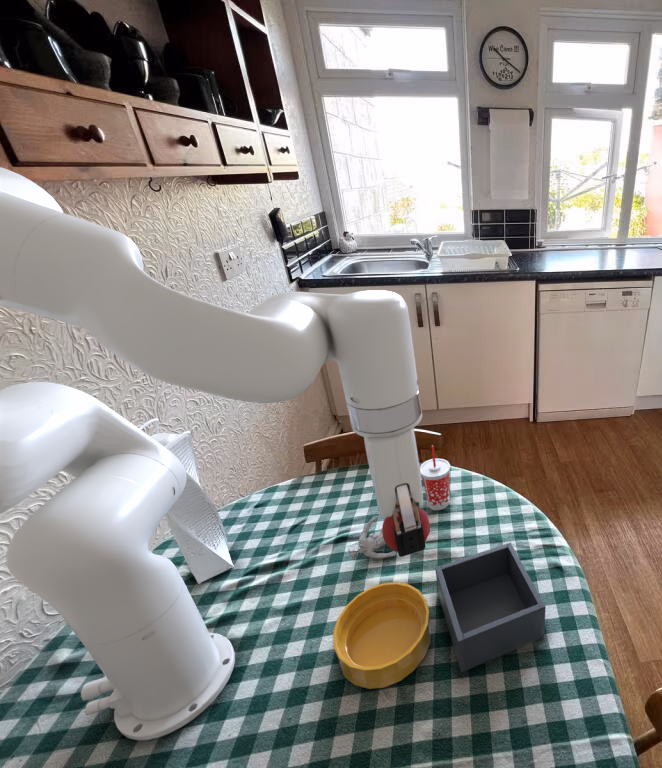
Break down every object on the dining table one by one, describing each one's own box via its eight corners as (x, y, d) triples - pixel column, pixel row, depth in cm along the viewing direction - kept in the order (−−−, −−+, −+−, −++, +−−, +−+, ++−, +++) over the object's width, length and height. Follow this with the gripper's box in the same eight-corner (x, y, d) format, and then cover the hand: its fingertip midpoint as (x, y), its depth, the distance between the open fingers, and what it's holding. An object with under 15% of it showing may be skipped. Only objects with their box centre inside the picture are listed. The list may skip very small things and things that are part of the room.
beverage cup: (459, 501, 86) (455, 445, 80) (436, 517, 82) (430, 459, 76) (440, 488, 90) (434, 434, 84) (417, 503, 86) (410, 447, 80)
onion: (429, 528, 57) (422, 481, 54) (436, 560, 52) (429, 511, 49) (385, 539, 55) (376, 491, 52) (388, 573, 50) (377, 523, 47)
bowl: (341, 708, 52) (334, 687, 50) (337, 620, 63) (332, 600, 61) (440, 666, 56) (438, 645, 55) (421, 591, 67) (418, 571, 65)
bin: (461, 673, 56) (457, 641, 53) (438, 596, 66) (435, 567, 63) (544, 637, 60) (545, 606, 57) (511, 570, 71) (510, 542, 68)
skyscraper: (185, 562, 73) (120, 425, 61) (234, 540, 77) (182, 409, 65) (191, 592, 67) (120, 448, 55) (243, 567, 72) (188, 429, 60)
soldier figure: (421, 538, 79) (374, 568, 68) (405, 548, 81) (357, 578, 70) (402, 502, 80) (353, 525, 69) (387, 512, 82) (337, 536, 71)
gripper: (345, 383, 51) (370, 499, 58) (354, 459, 36) (386, 599, 44) (406, 373, 53) (422, 484, 61) (438, 440, 39) (454, 575, 47)
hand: (407, 531), depth 52 cm, fingers closed on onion, 5 cm apart
